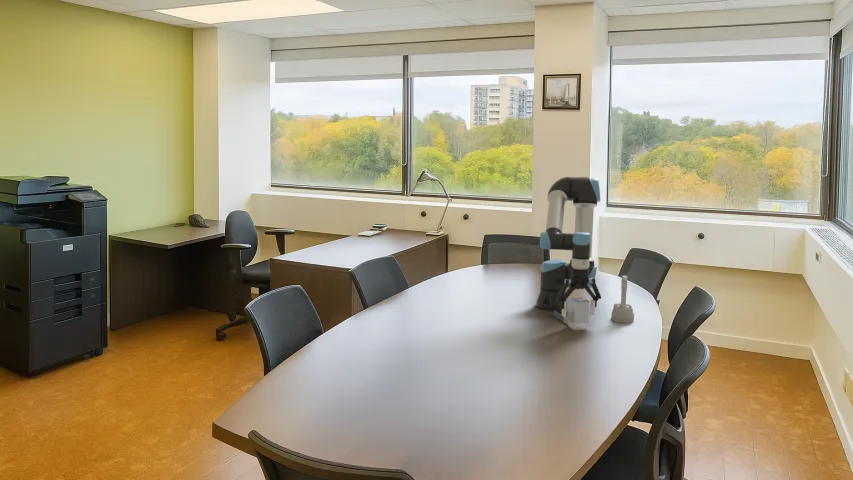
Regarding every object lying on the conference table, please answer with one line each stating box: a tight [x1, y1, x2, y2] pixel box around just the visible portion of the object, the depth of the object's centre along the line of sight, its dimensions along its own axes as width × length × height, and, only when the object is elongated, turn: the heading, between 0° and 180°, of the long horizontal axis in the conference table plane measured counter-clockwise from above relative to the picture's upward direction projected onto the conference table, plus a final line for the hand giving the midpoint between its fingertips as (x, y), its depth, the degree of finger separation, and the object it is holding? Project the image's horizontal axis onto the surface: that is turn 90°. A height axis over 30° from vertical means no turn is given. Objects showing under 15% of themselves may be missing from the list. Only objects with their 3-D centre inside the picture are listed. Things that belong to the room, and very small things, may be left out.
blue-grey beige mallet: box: [553, 310, 588, 331], centre depth 298 cm, size 24×6×8 cm, turn 13°
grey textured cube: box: [567, 297, 590, 324], centre depth 288 cm, size 7×7×10 cm
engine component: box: [610, 275, 635, 324], centre depth 303 cm, size 11×20×10 cm
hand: (578, 315), depth 289 cm, fingers open, 13 cm apart
